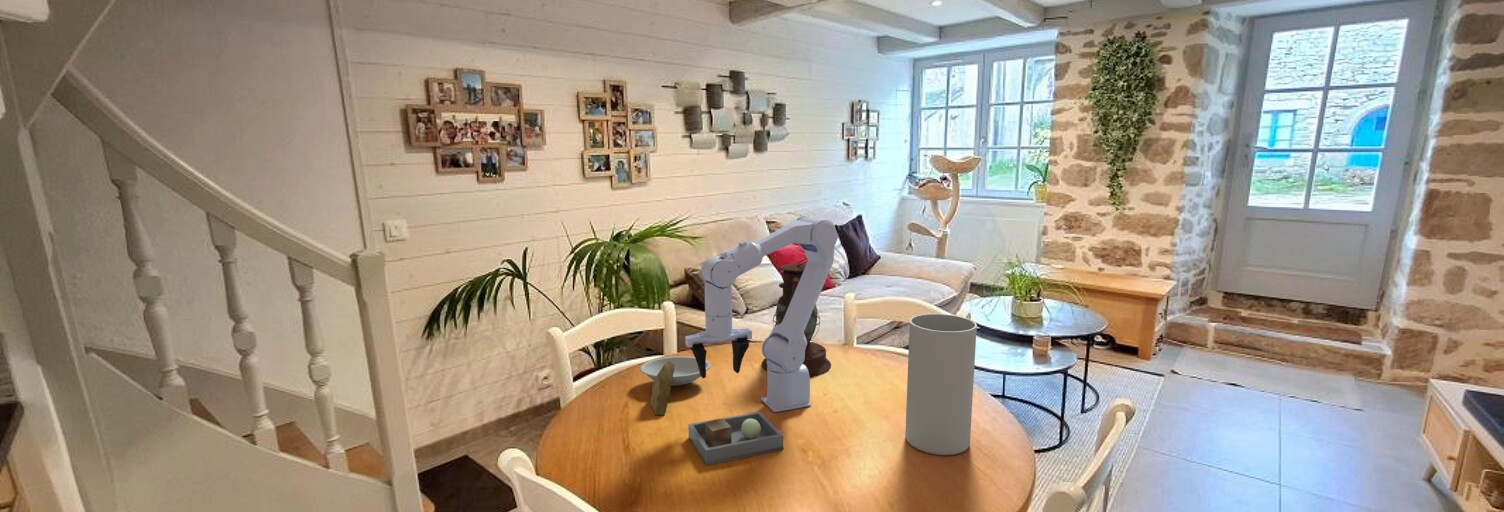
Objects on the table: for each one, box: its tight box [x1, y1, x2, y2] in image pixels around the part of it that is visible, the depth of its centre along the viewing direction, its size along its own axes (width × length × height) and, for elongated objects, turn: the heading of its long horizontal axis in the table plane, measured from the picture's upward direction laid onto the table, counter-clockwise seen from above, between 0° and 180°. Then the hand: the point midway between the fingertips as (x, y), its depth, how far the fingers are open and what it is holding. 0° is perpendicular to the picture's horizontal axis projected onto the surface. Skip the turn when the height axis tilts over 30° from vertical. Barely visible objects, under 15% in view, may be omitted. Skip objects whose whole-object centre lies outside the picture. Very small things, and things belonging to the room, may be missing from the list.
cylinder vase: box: [904, 313, 978, 456], centre depth 122 cm, size 12×12×25 cm
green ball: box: [741, 419, 761, 439], centre depth 125 cm, size 4×4×4 cm
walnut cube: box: [705, 418, 732, 447], centre depth 123 cm, size 4×4×4 cm
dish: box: [639, 355, 712, 387], centre depth 155 cm, size 18×14×5 cm
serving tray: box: [687, 411, 784, 466], centre depth 124 cm, size 16×12×3 cm
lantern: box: [761, 257, 832, 378], centre depth 166 cm, size 19×19×30 cm
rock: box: [649, 362, 675, 416], centre depth 142 cm, size 11×9×10 cm
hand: (719, 374), depth 134 cm, fingers open, 7 cm apart
